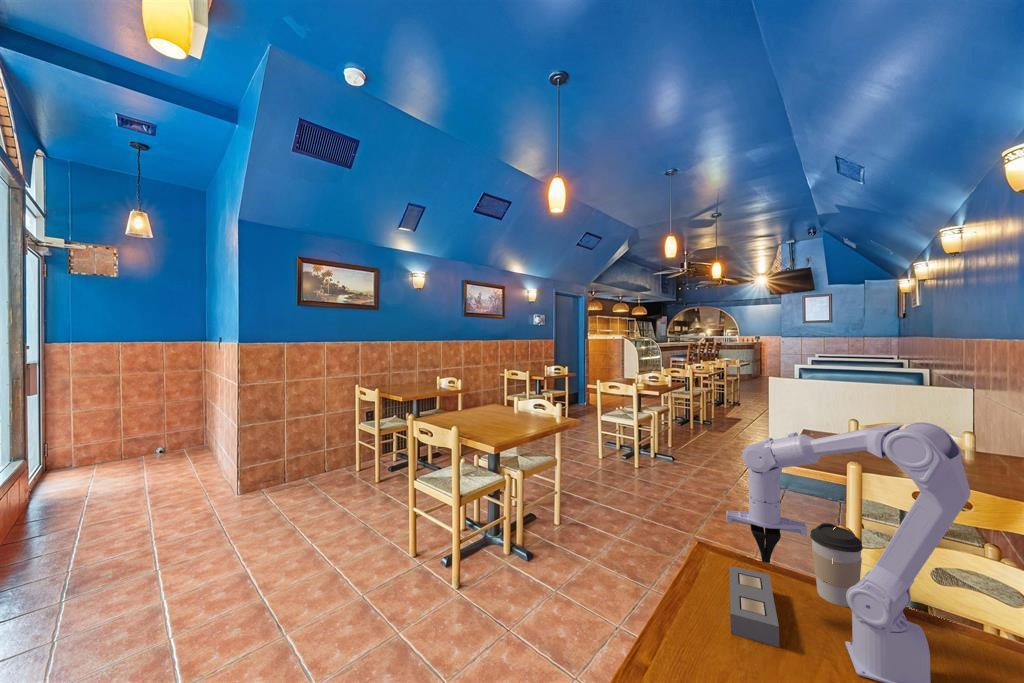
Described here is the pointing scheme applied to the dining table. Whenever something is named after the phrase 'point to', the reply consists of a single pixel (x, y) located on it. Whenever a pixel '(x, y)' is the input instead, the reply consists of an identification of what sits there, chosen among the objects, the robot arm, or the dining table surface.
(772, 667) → the dining table surface
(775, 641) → the grey peg hole board
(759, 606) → the near peg
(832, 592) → the coffee cup
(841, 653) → the dining table surface
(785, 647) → the dining table surface
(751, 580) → the far peg
